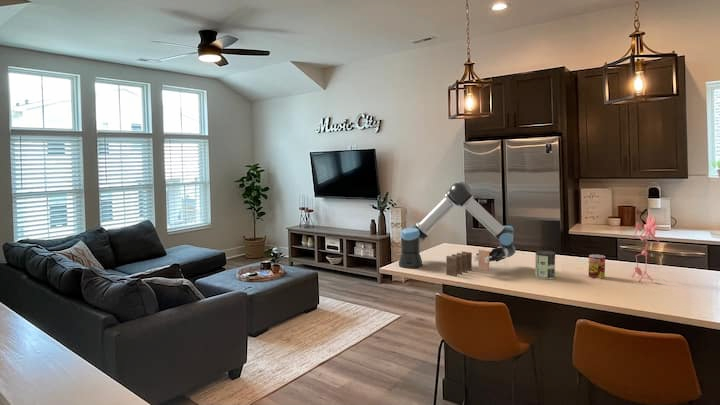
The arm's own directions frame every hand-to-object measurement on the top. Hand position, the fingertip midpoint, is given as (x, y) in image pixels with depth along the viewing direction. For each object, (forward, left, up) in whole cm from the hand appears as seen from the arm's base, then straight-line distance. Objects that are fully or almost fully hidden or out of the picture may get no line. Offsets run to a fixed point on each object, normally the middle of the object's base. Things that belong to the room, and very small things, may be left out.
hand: (480, 259), depth 241 cm
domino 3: (-15, 0, -10) cm, 18 cm away
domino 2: (-13, -5, -10) cm, 18 cm away
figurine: (+55, +70, -10) cm, 90 cm away
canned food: (+36, +53, -10) cm, 65 cm away
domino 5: (-1, +4, -6) cm, 8 cm away
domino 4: (-16, +5, -10) cm, 20 cm away
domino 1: (-12, -10, -10) cm, 19 cm away
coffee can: (+20, +30, -10) cm, 37 cm away
